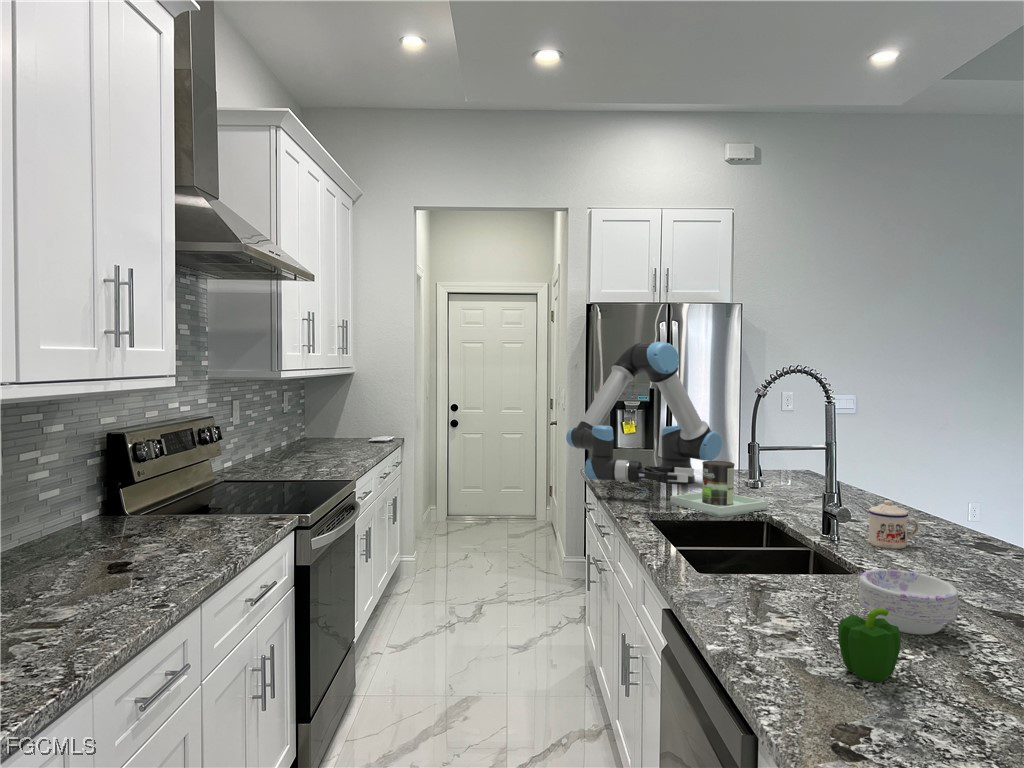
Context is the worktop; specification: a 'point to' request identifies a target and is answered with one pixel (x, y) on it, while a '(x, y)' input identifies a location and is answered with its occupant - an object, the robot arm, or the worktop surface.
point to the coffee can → (718, 483)
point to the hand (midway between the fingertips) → (690, 475)
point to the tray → (739, 507)
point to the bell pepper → (869, 645)
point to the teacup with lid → (889, 526)
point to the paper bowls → (909, 599)
